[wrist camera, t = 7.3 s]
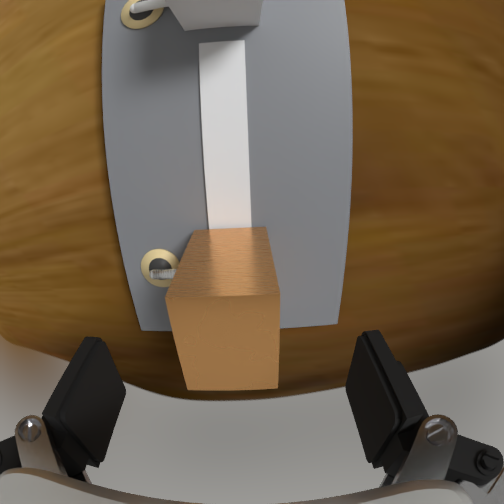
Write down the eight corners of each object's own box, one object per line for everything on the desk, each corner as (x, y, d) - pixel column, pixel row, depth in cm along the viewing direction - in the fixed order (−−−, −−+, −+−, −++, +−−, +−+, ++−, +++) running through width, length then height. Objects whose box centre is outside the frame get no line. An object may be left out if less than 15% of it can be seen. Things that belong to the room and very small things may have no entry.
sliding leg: (266, 226, 16) (280, 293, 10) (267, 302, 18) (277, 388, 12) (144, 232, 16) (92, 297, 10) (158, 305, 18) (127, 385, 12)
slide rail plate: (332, -23, 12) (367, -71, 6) (332, 311, 21) (357, 373, 15) (116, -8, 12) (71, -46, 6) (146, 318, 21) (121, 380, 15)
